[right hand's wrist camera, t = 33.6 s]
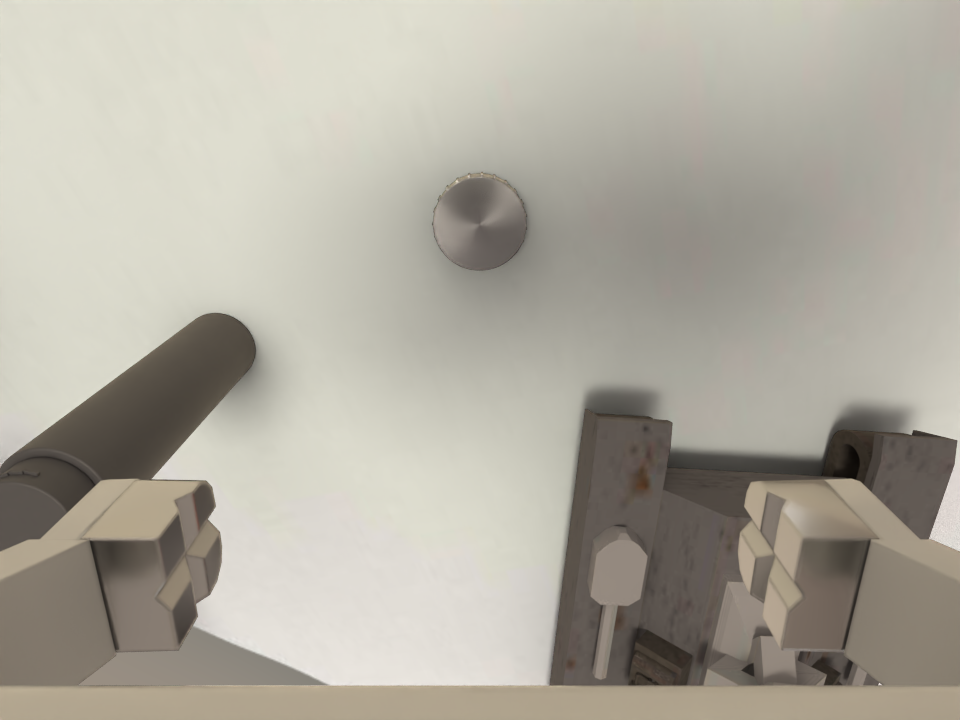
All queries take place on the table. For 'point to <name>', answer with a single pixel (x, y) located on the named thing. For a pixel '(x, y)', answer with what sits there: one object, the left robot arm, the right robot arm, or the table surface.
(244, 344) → the dark capped cylinder
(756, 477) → the toy
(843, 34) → the table surface
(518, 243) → the lid
